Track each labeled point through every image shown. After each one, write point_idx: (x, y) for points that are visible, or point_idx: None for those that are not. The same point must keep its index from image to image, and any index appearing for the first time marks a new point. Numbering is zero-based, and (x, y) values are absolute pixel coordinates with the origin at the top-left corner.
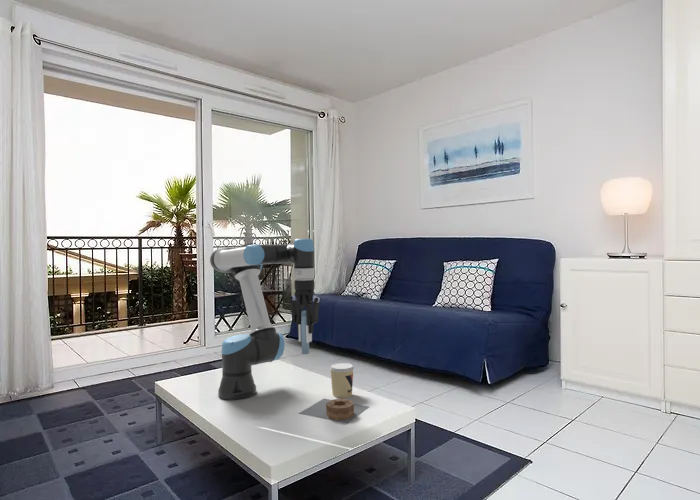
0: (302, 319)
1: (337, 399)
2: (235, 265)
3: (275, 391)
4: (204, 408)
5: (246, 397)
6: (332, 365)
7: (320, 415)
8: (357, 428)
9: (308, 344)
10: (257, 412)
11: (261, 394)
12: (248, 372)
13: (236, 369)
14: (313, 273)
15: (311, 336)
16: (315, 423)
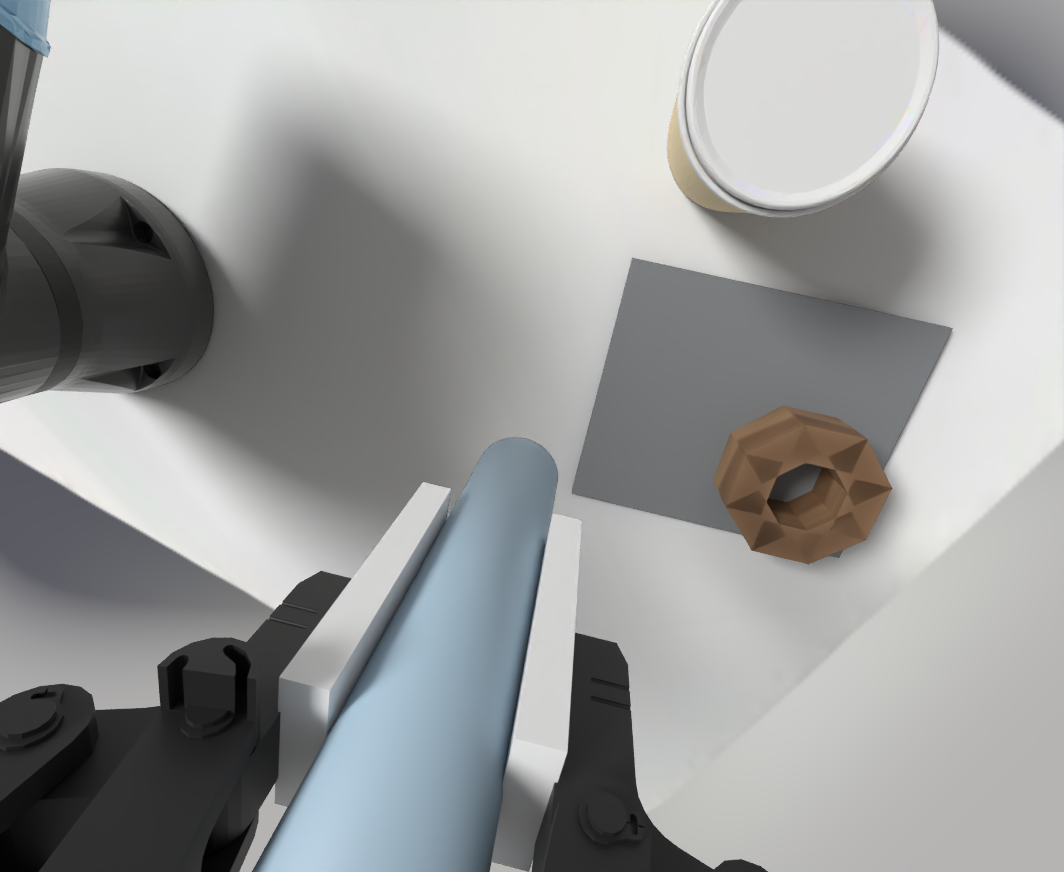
0: None
1: (780, 444)
2: None
3: (281, 185)
4: (140, 499)
5: (207, 341)
6: (700, 89)
7: (686, 498)
8: (887, 574)
9: (547, 535)
10: (377, 496)
11: (241, 261)
12: (70, 313)
13: (11, 396)
14: None
15: (577, 572)
16: (682, 557)
